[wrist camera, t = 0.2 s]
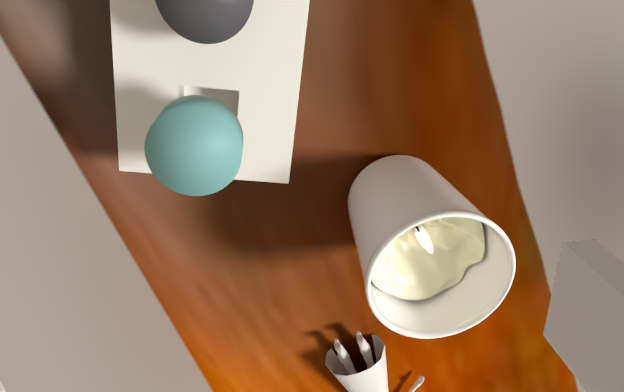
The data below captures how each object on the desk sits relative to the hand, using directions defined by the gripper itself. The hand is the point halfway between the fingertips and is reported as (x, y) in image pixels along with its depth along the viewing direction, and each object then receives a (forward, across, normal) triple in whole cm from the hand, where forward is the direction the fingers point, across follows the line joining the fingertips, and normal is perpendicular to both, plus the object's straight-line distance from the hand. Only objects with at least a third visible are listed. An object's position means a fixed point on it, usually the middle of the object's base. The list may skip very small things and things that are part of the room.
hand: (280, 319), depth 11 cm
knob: (+23, -4, -1) cm, 23 cm away
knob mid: (+26, -3, +6) cm, 26 cm away
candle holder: (+27, +10, -11) cm, 31 cm away
